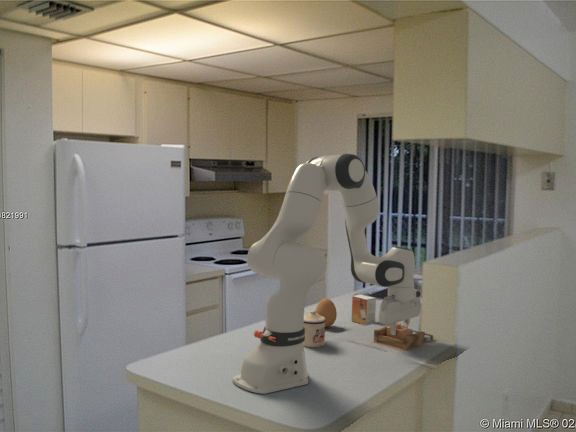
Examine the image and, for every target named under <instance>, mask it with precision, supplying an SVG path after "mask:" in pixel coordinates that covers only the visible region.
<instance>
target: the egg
mask: <svg viewBox="0 0 576 432" xmlns="http://www.w3.org/2000/svg"><path fill="white" fill-rule="evenodd" d="M315 307H316V308H315V311H316V314H319V315H320V316H323V317H324V318H325V320H326V321H325V329H327V328H330V327H331V326H332V325H334V324H335V322H336V320H337V315H338V313H337V308H336V307H337V306H336V305H335V304H334V302H333V301H332V300H331V299H329V298H322V299H321V300H320V301H319V302H318V303H317V306H315Z"/></svg>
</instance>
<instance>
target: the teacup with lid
mask: <svg viewBox="0 0 576 432" xmlns="http://www.w3.org/2000/svg"><path fill="white" fill-rule="evenodd" d="M325 321H326V320H325V318H324V317H323V316H320V315H319V314H316V310H310V311H309V313H306V314H304V325H303V327H304V328H305V340H304V342H303V343H304V347H306V348H320V347H323V346H324V345H325V343H326V342H325V338H326V336H325V335H326V334H325V333H326V328H325Z"/></svg>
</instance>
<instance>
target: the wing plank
mask: <svg viewBox="0 0 576 432" xmlns="http://www.w3.org/2000/svg"><path fill="white" fill-rule="evenodd" d="M413 334H416V332H413ZM425 337H427V342H428V341H431V336H428V335H425ZM431 342H432V341H431ZM428 343H429V342H428Z"/></svg>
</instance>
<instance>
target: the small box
mask: <svg viewBox="0 0 576 432" xmlns="http://www.w3.org/2000/svg"><path fill="white" fill-rule="evenodd" d="M351 302H352V303H351V322H354V323H357V324H360V325H363V326H369V325H375V324H376V309H377V307H376V306H377V304H376V303H377V298H376V297H373V296H370V295H369V296H368V295H364V294H357V295H353V296H352V299H351Z"/></svg>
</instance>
